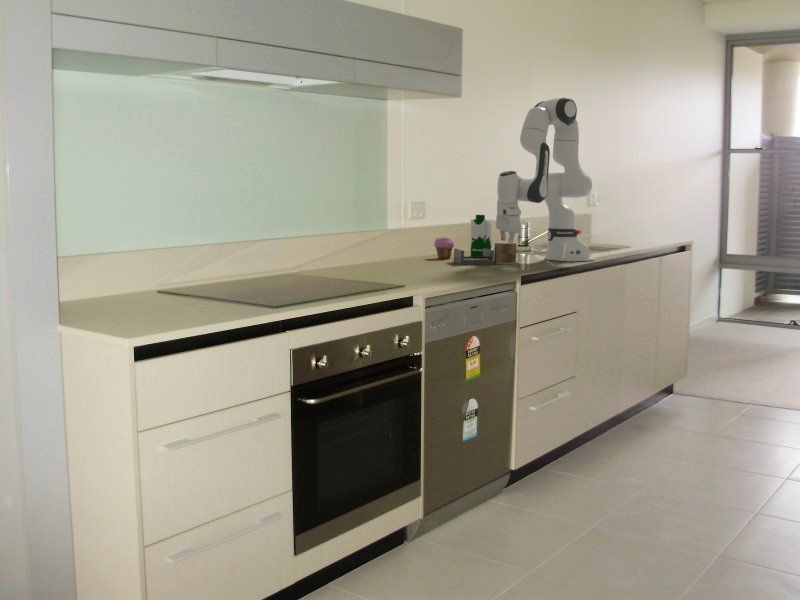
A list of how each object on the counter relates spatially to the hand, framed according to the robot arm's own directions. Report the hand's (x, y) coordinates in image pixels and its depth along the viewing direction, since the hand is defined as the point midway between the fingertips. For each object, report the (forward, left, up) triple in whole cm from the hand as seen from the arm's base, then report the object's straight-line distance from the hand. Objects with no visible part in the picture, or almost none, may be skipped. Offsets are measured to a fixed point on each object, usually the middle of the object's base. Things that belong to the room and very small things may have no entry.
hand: (507, 241), depth 380 cm
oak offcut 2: (+12, +3, -10) cm, 15 cm away
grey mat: (+1, 0, -9) cm, 9 cm away
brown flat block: (+1, 0, -9) cm, 9 cm away
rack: (+15, 0, -9) cm, 17 cm away
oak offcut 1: (+18, +3, -10) cm, 20 cm away
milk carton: (+6, -18, -10) cm, 21 cm away
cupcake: (+22, -23, -10) cm, 33 cm away
